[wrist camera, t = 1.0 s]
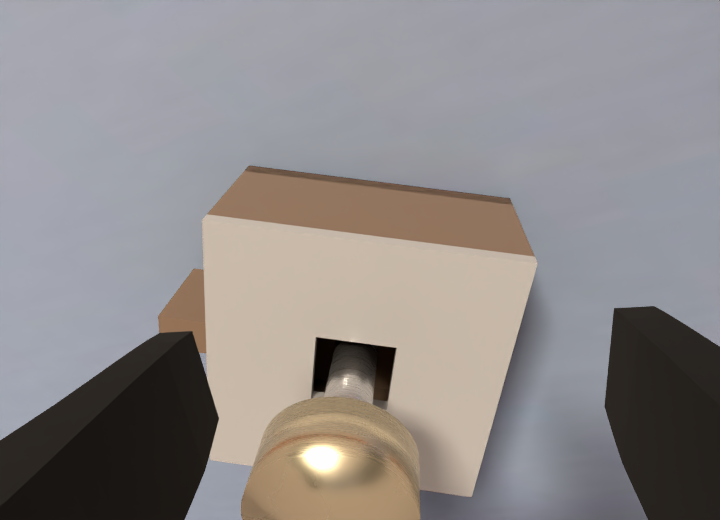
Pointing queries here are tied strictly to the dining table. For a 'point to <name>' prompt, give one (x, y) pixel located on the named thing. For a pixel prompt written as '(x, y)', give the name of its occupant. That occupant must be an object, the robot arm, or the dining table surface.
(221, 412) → the tan box
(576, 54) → the dining table surface
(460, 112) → the dining table surface
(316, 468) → the plunger
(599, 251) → the dining table surface
